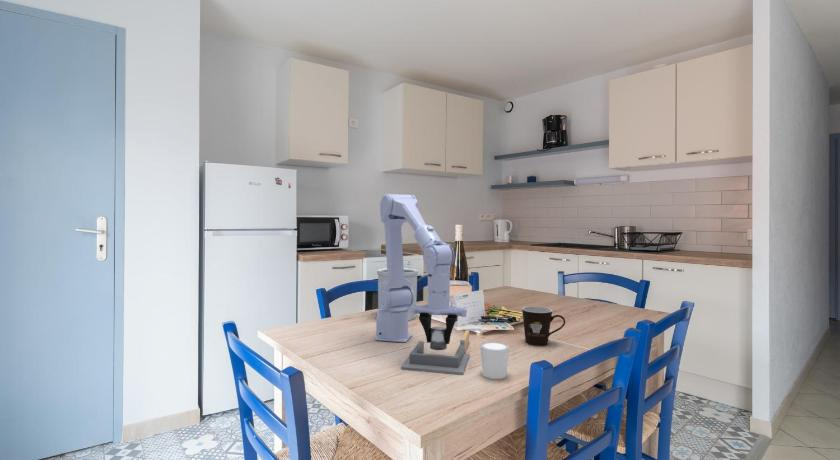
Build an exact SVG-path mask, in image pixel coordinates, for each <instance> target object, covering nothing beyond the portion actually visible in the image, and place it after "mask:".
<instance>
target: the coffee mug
mask: <svg viewBox="0 0 840 460" xmlns="http://www.w3.org/2000/svg"><path fill="white" fill-rule="evenodd" d="M521 311H522V319H523V330H524V339H525V340H524V341H525V344H527V345H529V346H534V347H544V346H547V345H548V342H549V337H550V336H551V335H552V334H554V333H557V332H558V331H561V329H562V328H564V327H565V325H566V319H565V317H564V316H562V315H560V314H555V315H553V316H552V314H553V309H552V308H549V307H544V306H537V305H533V306H524V307H522V308H521ZM555 318H561V320H563V321H562V322H563V323H562V325H560V327H558V328H556V329H554V330H552V331H551V332H550V329H551V323H552V321H553V320H554V319H555Z"/></svg>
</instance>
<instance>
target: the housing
mask: <svg viewBox="0 0 840 460" xmlns="http://www.w3.org/2000/svg"><path fill="white" fill-rule="evenodd" d="M424 345H425V341H422V340H421V341H418V342H417V344H416V345H415V346H414V347H413V349H412V350H411V352H410V353H409V356H408V357H407V358H406V360H405V361H404V362H403V363H402V365H401V366H400V369H401V370H405V371H417V372H426V373H427V372H429V373H437V374H451V375H464V373H465V370H466V367H467V364H468V361H469V359H470V356H471V355H470V353H464V345H462V344H459V345H458V346H457V349H456V352H455V353H454V355H443V354H430V353H425V351H424V350H425V346H424Z"/></svg>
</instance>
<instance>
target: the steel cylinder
mask: <svg viewBox="0 0 840 460" xmlns="http://www.w3.org/2000/svg"><path fill="white" fill-rule="evenodd" d="M429 348H430V349H431V350H434V351H444V350H447V349H448V344H446V326H433V327H432V326H431V328H430V343H429Z"/></svg>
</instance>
